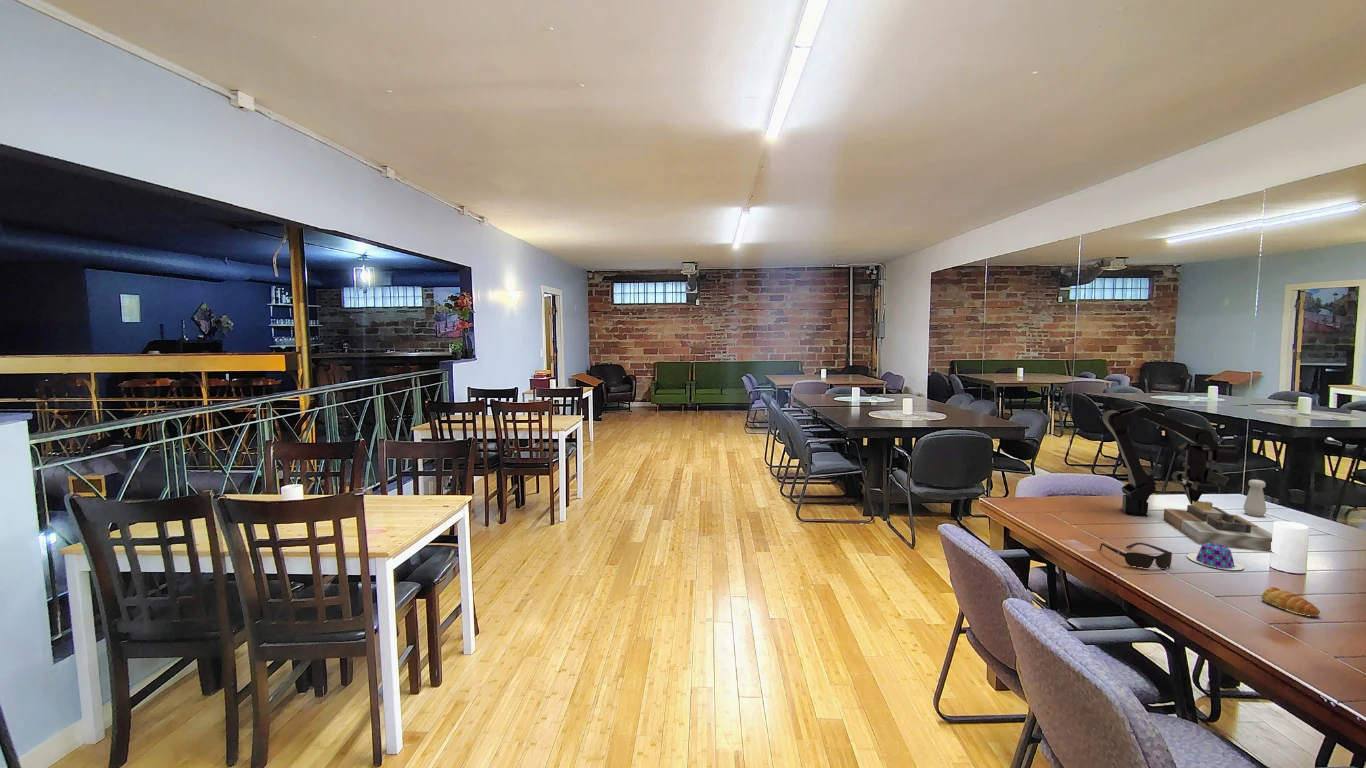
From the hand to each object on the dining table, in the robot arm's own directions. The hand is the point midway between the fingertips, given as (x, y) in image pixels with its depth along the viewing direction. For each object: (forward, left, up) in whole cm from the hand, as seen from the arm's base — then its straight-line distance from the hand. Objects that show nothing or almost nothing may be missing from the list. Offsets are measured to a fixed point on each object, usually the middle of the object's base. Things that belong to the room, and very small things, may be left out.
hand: (1193, 505), depth 194 cm
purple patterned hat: (-13, -45, -6) cm, 47 cm away
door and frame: (0, -17, -5) cm, 17 cm away
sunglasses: (-34, -49, -6) cm, 60 cm away
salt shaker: (+23, +12, -5) cm, 27 cm away
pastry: (-11, -71, -6) cm, 72 cm away
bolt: (0, -9, -1) cm, 9 cm away
